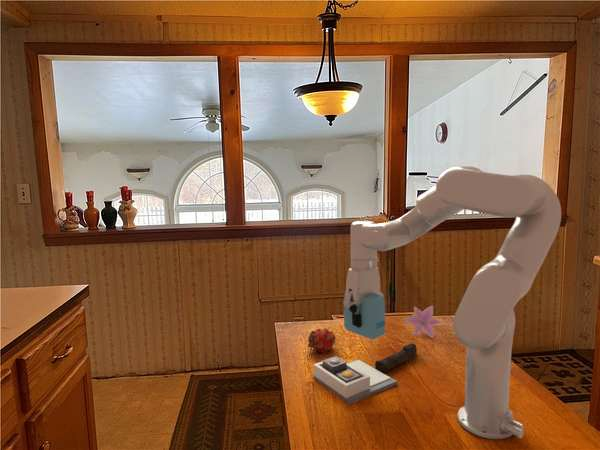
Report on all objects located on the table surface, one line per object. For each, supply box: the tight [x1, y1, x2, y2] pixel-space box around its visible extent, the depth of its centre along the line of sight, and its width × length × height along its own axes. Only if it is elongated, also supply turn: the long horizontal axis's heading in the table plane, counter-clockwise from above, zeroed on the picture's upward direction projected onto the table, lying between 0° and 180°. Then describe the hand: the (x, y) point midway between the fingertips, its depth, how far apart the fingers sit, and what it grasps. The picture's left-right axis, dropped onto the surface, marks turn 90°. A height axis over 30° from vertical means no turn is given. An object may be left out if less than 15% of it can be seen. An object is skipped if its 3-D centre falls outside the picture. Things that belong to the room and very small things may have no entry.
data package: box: [343, 292, 386, 340], centre depth 119 cm, size 12×4×12 cm, turn 42°
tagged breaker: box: [335, 369, 360, 383], centre depth 114 cm, size 5×5×3 cm
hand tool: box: [374, 343, 418, 375], centre depth 129 cm, size 19×4×5 cm, turn 127°
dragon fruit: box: [307, 328, 337, 354], centre depth 140 cm, size 8×8×12 cm
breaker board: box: [312, 358, 398, 405], centre depth 119 cm, size 17×18×4 cm
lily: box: [403, 305, 442, 339], centre depth 153 cm, size 12×12×10 cm
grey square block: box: [322, 355, 348, 375], centre depth 119 cm, size 5×5×3 cm
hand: (364, 323), depth 120 cm, fingers closed on data package, 5 cm apart
